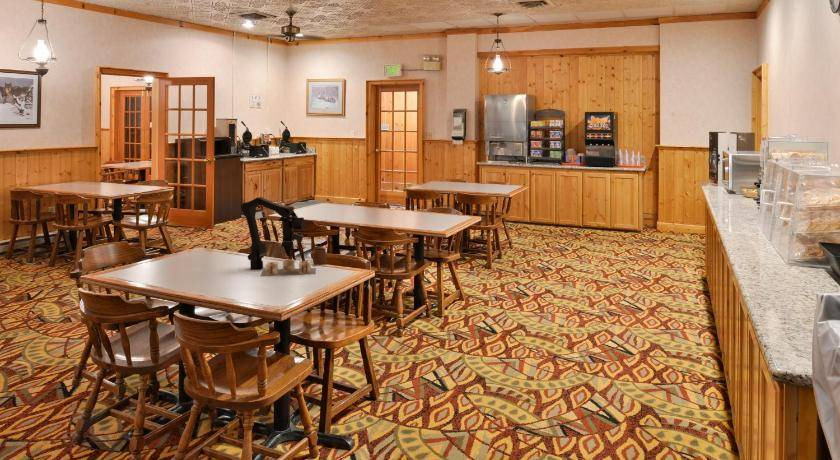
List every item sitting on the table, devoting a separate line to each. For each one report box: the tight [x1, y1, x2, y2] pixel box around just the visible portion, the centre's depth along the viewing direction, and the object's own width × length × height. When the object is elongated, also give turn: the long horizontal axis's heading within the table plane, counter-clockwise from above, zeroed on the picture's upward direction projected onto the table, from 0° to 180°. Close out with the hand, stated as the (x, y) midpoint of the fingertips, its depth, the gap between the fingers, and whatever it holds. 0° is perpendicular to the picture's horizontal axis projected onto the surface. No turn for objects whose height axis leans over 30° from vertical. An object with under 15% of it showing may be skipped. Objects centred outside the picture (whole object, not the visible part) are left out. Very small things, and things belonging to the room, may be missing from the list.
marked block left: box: [265, 261, 279, 275], centre depth 339 cm, size 6×6×6 cm
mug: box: [310, 247, 327, 266], centre depth 364 cm, size 12×8×9 cm, turn 153°
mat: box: [260, 267, 317, 277], centre depth 344 cm, size 30×16×1 cm, turn 99°
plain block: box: [282, 258, 296, 272], centre depth 346 cm, size 6×6×6 cm
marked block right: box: [298, 260, 311, 275], centre depth 342 cm, size 6×6×6 cm
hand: (288, 256), depth 345 cm, fingers closed
